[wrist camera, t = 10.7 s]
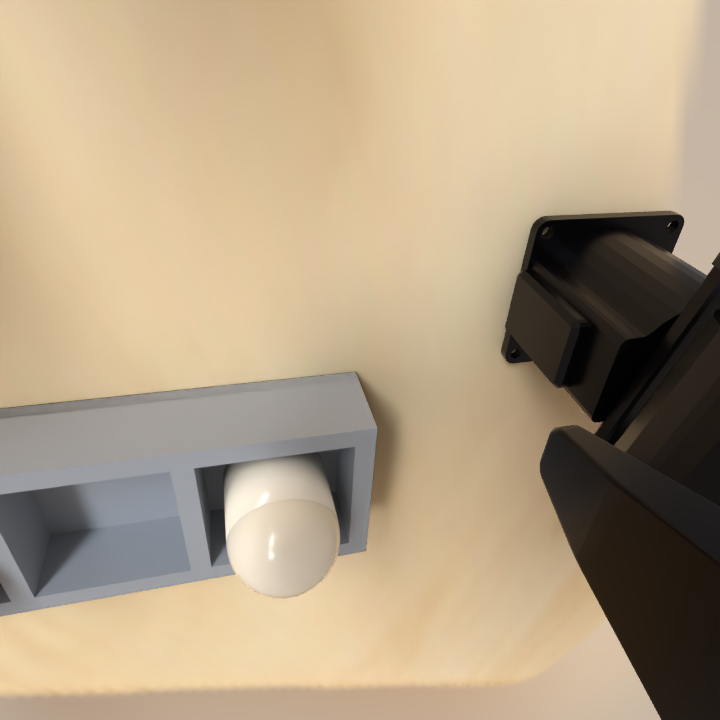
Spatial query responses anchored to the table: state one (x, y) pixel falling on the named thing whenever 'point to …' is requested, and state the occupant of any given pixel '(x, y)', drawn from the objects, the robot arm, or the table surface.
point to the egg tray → (161, 482)
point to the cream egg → (280, 524)
